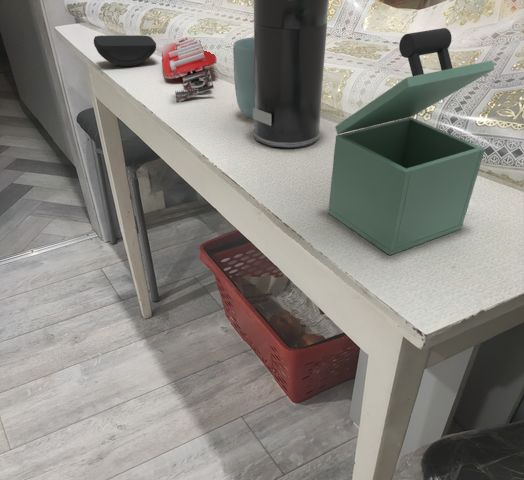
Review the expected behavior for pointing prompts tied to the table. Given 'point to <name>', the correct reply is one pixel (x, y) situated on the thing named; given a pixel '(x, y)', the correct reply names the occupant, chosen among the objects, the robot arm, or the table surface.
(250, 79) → the cup
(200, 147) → the table surface
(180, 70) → the logo
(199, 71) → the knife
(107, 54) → the computer mouse
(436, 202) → the green storage box
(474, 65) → the green square slab
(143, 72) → the table surface
